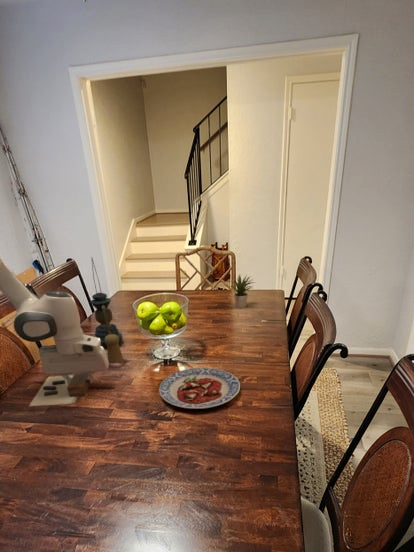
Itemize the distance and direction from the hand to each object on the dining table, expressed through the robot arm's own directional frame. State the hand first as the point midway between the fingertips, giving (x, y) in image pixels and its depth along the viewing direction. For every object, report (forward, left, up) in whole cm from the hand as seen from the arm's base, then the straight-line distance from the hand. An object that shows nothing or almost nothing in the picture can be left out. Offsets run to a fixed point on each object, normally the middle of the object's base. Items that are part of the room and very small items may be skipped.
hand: (80, 383), depth 122 cm
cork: (+8, +20, -3) cm, 22 cm away
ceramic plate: (+39, -6, -3) cm, 40 cm away
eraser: (0, 0, -2) cm, 2 cm away
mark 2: (-9, -3, -2) cm, 10 cm away
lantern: (+2, +39, -3) cm, 39 cm away
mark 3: (-9, +4, -2) cm, 9 cm away
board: (-7, 0, -3) cm, 8 cm away
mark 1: (-11, 0, -2) cm, 11 cm away
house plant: (+63, +78, -3) cm, 100 cm away
